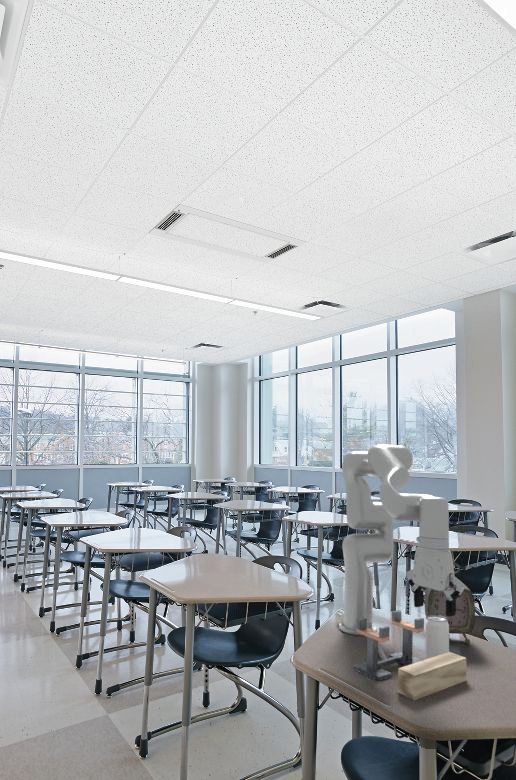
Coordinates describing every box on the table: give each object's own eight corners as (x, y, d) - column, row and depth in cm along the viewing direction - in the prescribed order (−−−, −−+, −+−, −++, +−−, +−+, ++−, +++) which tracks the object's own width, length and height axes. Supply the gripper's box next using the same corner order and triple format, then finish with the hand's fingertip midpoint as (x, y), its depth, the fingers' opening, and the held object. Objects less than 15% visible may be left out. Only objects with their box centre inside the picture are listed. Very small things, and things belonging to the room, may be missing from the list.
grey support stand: (353, 669, 147) (354, 619, 149) (400, 655, 159) (400, 609, 161) (378, 681, 140) (379, 629, 142) (425, 665, 152) (426, 617, 153)
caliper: (366, 640, 171) (366, 620, 172) (369, 640, 171) (369, 620, 172) (385, 666, 151) (385, 643, 152) (389, 666, 151) (389, 643, 152)
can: (450, 666, 152) (450, 622, 153) (426, 663, 153) (426, 620, 155) (447, 658, 158) (447, 615, 160) (424, 655, 160) (424, 613, 161)
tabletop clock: (427, 642, 171) (428, 562, 174) (423, 633, 180) (423, 556, 183) (475, 646, 169) (474, 565, 172) (468, 637, 178) (468, 559, 181)
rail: (397, 693, 134) (398, 668, 135) (449, 674, 147) (449, 651, 148) (414, 701, 130) (414, 675, 131) (466, 681, 143) (466, 657, 144)
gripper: (398, 540, 147) (398, 605, 145) (454, 550, 133) (455, 621, 131) (415, 538, 152) (415, 601, 149) (471, 548, 138) (472, 617, 136)
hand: (434, 611), depth 140 cm, fingers open, 9 cm apart
